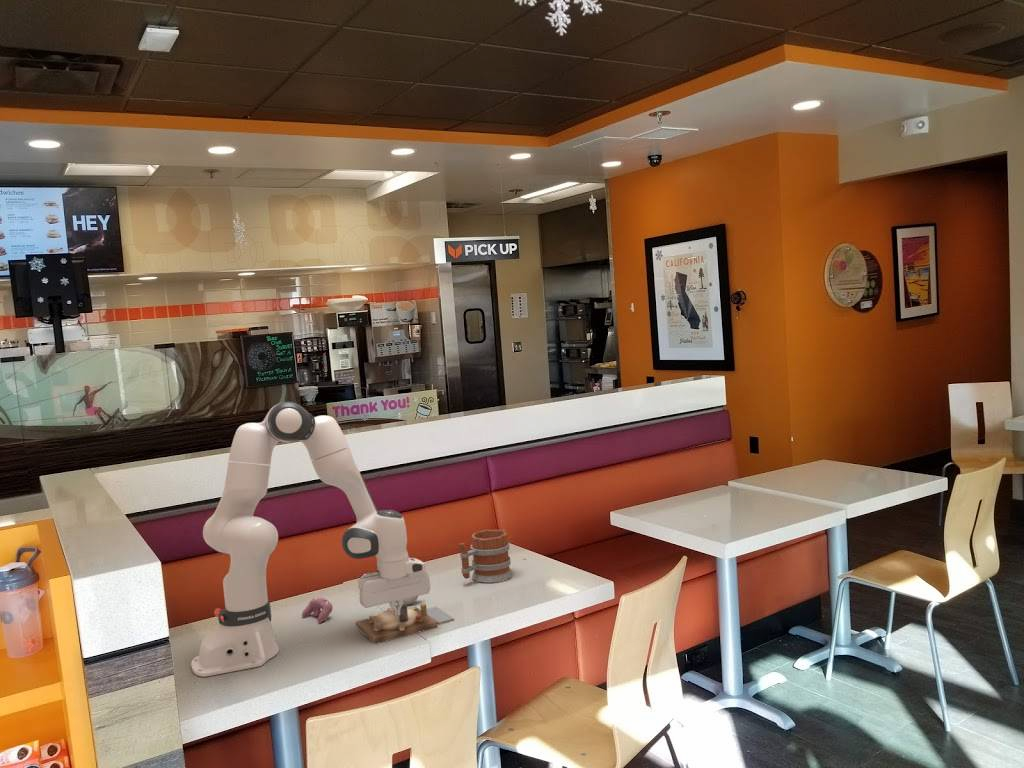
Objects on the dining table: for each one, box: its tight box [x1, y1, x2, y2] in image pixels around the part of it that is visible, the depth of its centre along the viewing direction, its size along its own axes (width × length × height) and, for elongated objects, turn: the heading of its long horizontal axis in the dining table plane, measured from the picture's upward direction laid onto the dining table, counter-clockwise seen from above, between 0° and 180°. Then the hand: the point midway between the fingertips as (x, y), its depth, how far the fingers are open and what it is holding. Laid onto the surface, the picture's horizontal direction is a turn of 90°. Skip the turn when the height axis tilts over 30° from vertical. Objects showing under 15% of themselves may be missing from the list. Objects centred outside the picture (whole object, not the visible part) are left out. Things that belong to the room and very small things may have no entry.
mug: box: [459, 529, 513, 584], centre depth 271 cm, size 14×19×15 cm
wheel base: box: [355, 603, 439, 644], centre depth 233 cm, size 19×16×4 cm
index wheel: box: [368, 605, 423, 631], centre depth 233 cm, size 15×15×6 cm
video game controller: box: [301, 597, 334, 624], centre depth 246 cm, size 10×5×7 cm, turn 47°
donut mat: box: [426, 606, 455, 625], centre depth 240 cm, size 5×13×1 cm, turn 29°
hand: (397, 615), depth 228 cm, fingers closed, pressing on index wheel
